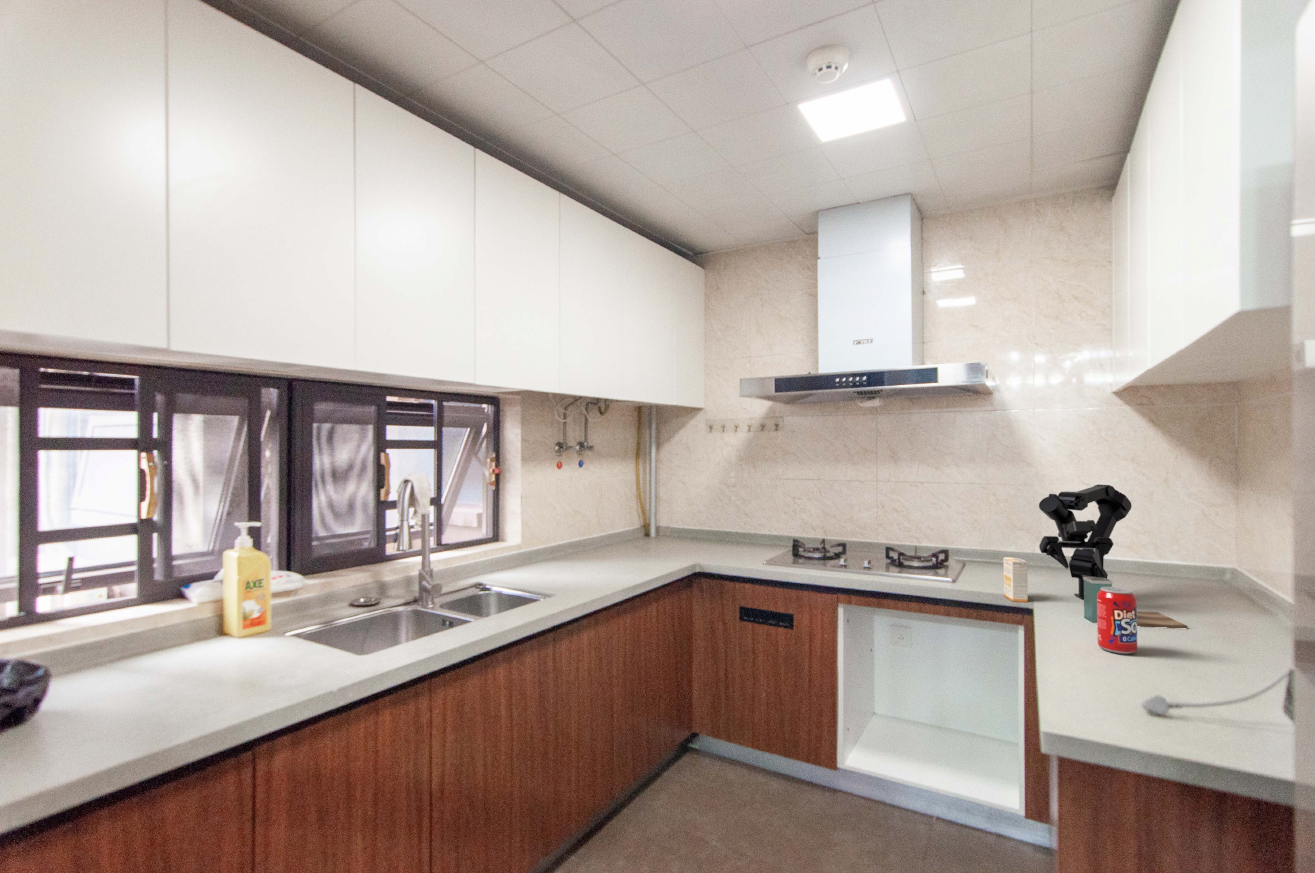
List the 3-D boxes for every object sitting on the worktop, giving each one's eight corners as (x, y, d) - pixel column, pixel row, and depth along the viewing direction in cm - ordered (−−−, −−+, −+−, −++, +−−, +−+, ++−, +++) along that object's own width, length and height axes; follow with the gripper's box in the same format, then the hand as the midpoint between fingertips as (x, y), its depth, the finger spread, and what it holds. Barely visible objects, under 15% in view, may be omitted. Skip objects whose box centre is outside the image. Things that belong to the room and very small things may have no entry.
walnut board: (1104, 614, 186) (1104, 609, 186) (1157, 617, 183) (1157, 612, 183) (1129, 628, 172) (1129, 622, 172) (1187, 631, 169) (1187, 625, 169)
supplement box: (1028, 602, 198) (1028, 561, 198) (1012, 601, 199) (1011, 560, 199) (1019, 596, 206) (1018, 556, 206) (1003, 595, 207) (1002, 556, 207)
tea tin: (1083, 617, 180) (1083, 576, 181) (1103, 618, 179) (1103, 577, 180) (1092, 622, 175) (1091, 580, 176) (1112, 623, 174) (1112, 581, 174)
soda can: (1098, 643, 157) (1098, 584, 157) (1138, 649, 152) (1137, 588, 152) (1096, 651, 151) (1095, 589, 151) (1136, 658, 146) (1136, 594, 146)
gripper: (1042, 510, 193) (1058, 551, 182) (1110, 511, 189) (1130, 553, 178) (1032, 531, 200) (1047, 572, 189) (1097, 533, 196) (1116, 575, 185)
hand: (1084, 568), depth 185 cm, fingers open, 9 cm apart
